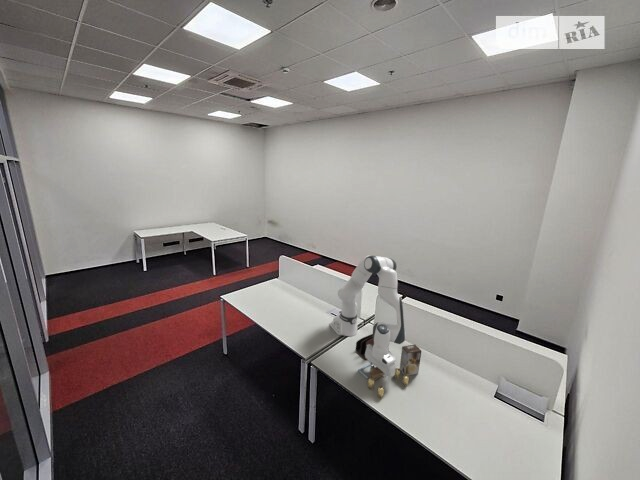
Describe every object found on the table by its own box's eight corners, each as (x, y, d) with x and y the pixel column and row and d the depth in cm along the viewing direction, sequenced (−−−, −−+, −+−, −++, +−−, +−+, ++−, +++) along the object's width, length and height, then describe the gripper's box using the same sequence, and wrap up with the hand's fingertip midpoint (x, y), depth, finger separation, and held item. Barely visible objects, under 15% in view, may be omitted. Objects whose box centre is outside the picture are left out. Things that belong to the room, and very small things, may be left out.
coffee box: (412, 366, 163) (415, 343, 158) (418, 373, 157) (422, 350, 153) (399, 368, 160) (402, 346, 156) (404, 376, 154) (408, 353, 150)
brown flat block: (370, 378, 152) (371, 369, 151) (382, 371, 158) (383, 363, 156) (373, 381, 150) (374, 372, 149) (385, 374, 156) (386, 365, 154)
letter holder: (387, 350, 177) (389, 331, 173) (365, 360, 166) (367, 341, 163) (376, 341, 185) (378, 324, 181) (355, 351, 174) (356, 332, 171)
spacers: (363, 383, 149) (363, 375, 147) (388, 368, 160) (388, 361, 159) (383, 402, 137) (384, 394, 136) (408, 384, 149) (409, 377, 147)
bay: (358, 370, 157) (358, 369, 157) (374, 361, 165) (374, 360, 165) (366, 378, 152) (367, 377, 151) (383, 369, 159) (383, 368, 159)
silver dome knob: (370, 375, 155) (371, 372, 154) (369, 369, 159) (369, 367, 158) (378, 375, 155) (378, 372, 154) (376, 369, 159) (376, 367, 159)
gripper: (363, 344, 156) (361, 364, 160) (390, 365, 140) (387, 386, 144) (371, 340, 160) (369, 360, 163) (398, 360, 144) (395, 381, 147)
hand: (378, 372), depth 153 cm, fingers open, 8 cm apart
